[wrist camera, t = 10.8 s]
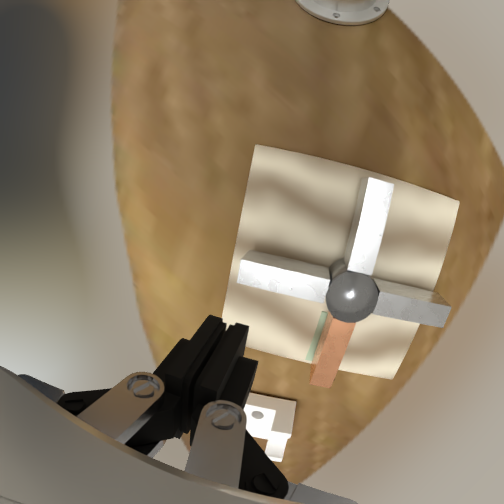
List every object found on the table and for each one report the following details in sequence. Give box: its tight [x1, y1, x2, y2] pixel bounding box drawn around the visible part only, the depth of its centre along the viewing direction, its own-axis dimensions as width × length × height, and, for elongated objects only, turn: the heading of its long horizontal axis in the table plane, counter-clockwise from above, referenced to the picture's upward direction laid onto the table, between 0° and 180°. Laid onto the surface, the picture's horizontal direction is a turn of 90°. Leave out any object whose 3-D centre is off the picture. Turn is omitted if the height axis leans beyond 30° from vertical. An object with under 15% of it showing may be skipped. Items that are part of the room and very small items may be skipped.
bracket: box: [244, 393, 296, 462], centre depth 37 cm, size 13×7×8 cm, turn 83°
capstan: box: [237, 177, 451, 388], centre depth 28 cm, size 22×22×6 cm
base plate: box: [222, 144, 460, 379], centre depth 32 cm, size 24×24×2 cm
